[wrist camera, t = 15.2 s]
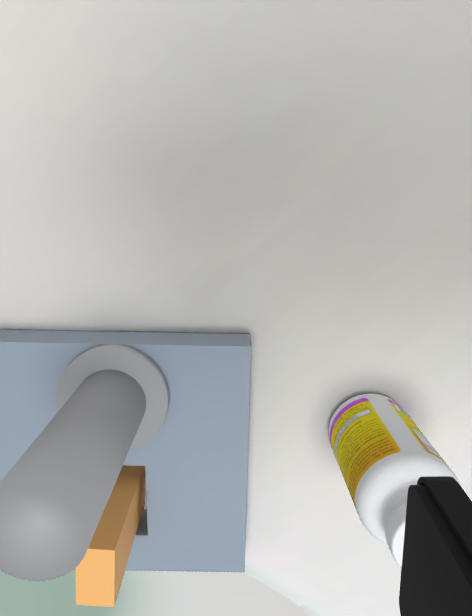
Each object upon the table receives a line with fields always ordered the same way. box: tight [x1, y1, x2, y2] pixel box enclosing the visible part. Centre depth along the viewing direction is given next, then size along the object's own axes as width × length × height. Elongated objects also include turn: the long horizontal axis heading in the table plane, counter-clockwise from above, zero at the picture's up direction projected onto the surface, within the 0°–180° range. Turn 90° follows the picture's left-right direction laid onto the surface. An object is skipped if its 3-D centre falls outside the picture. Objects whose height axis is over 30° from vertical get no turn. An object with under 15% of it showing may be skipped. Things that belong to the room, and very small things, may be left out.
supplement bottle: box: [329, 394, 460, 568], centre depth 31 cm, size 7×7×13 cm
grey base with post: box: [0, 329, 251, 581], centre depth 29 cm, size 20×20×17 cm
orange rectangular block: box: [76, 465, 146, 607], centre depth 33 cm, size 2×4×10 cm, turn 175°
